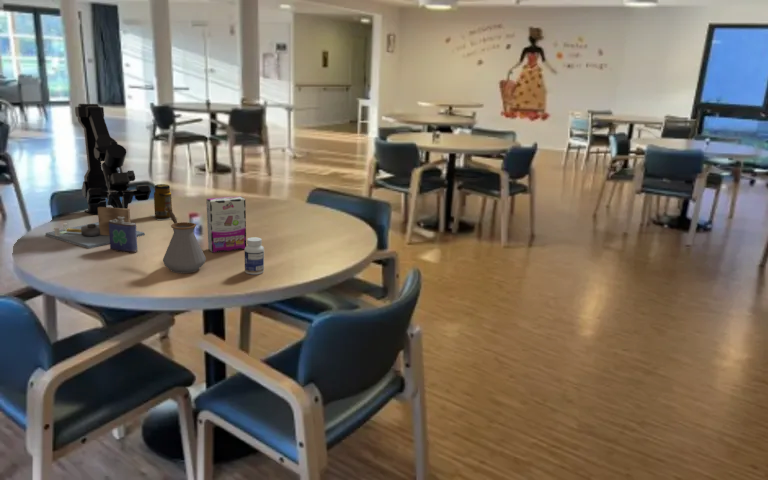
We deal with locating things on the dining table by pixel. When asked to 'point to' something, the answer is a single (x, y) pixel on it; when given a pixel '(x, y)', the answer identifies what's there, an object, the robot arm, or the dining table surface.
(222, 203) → the candy bar box
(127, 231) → the flask
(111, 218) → the brown piece
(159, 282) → the dining table surface
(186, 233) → the coffee pot
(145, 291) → the dining table surface
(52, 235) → the stand
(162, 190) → the condiment
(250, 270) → the pill bottle
